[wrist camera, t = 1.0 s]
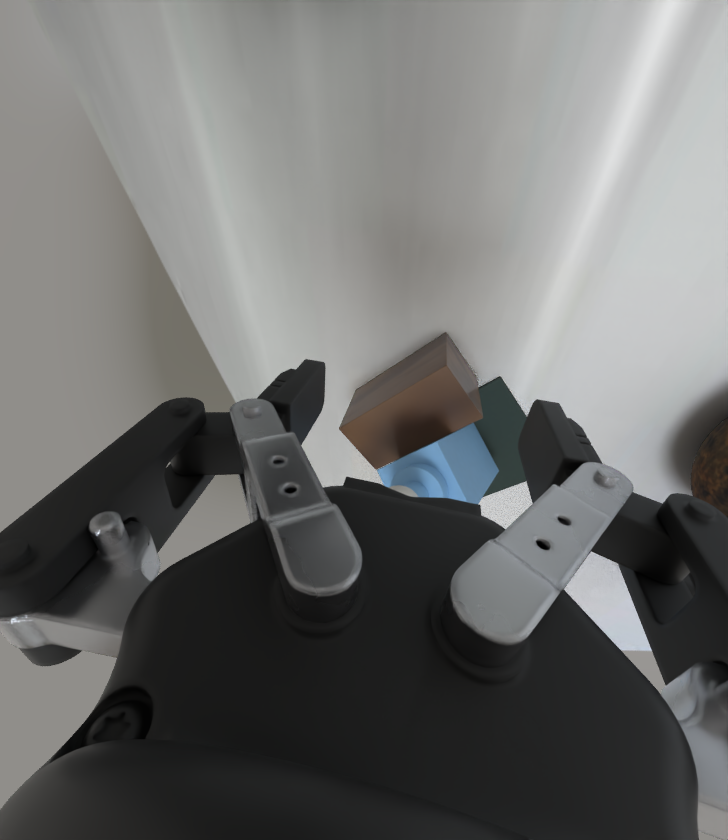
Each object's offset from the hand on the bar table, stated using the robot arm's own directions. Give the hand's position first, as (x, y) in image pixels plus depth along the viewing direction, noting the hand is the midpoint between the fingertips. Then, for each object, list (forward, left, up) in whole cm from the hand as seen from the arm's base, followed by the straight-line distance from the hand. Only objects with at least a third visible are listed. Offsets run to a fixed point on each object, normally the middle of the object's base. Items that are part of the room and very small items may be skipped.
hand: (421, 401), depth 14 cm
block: (+8, -8, -23) cm, 26 cm away
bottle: (+14, -8, -23) cm, 28 cm away
